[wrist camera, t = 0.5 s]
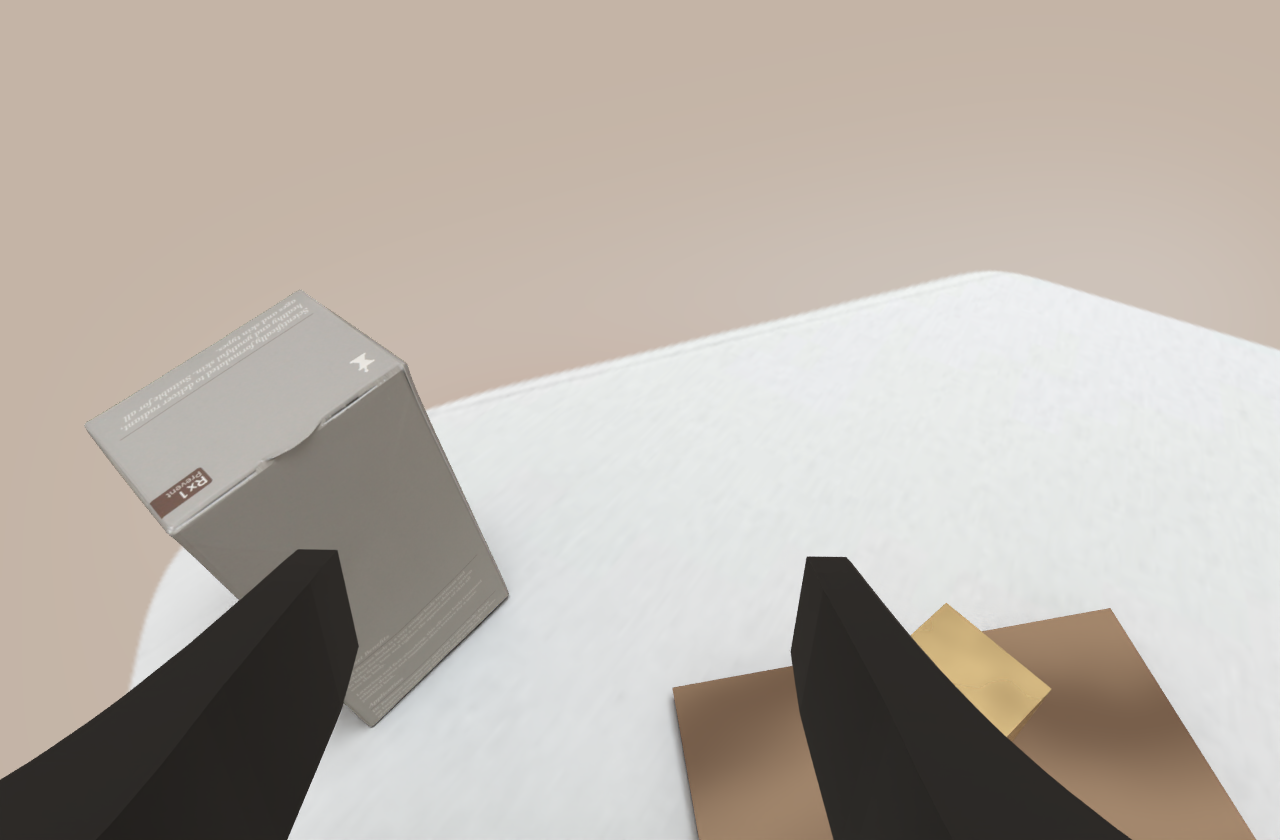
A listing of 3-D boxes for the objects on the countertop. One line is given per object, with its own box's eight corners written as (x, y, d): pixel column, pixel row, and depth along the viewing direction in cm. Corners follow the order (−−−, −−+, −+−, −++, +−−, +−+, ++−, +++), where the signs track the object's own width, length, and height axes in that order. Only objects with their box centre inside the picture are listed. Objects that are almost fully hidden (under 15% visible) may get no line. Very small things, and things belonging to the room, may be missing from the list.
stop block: (1009, 745, 29) (1051, 689, 25) (938, 820, 27) (972, 773, 23) (920, 665, 31) (946, 602, 27) (850, 731, 29) (867, 674, 26)
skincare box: (432, 528, 39) (300, 270, 28) (525, 608, 36) (418, 348, 24) (284, 648, 36) (62, 406, 24) (371, 752, 32) (157, 524, 20)
